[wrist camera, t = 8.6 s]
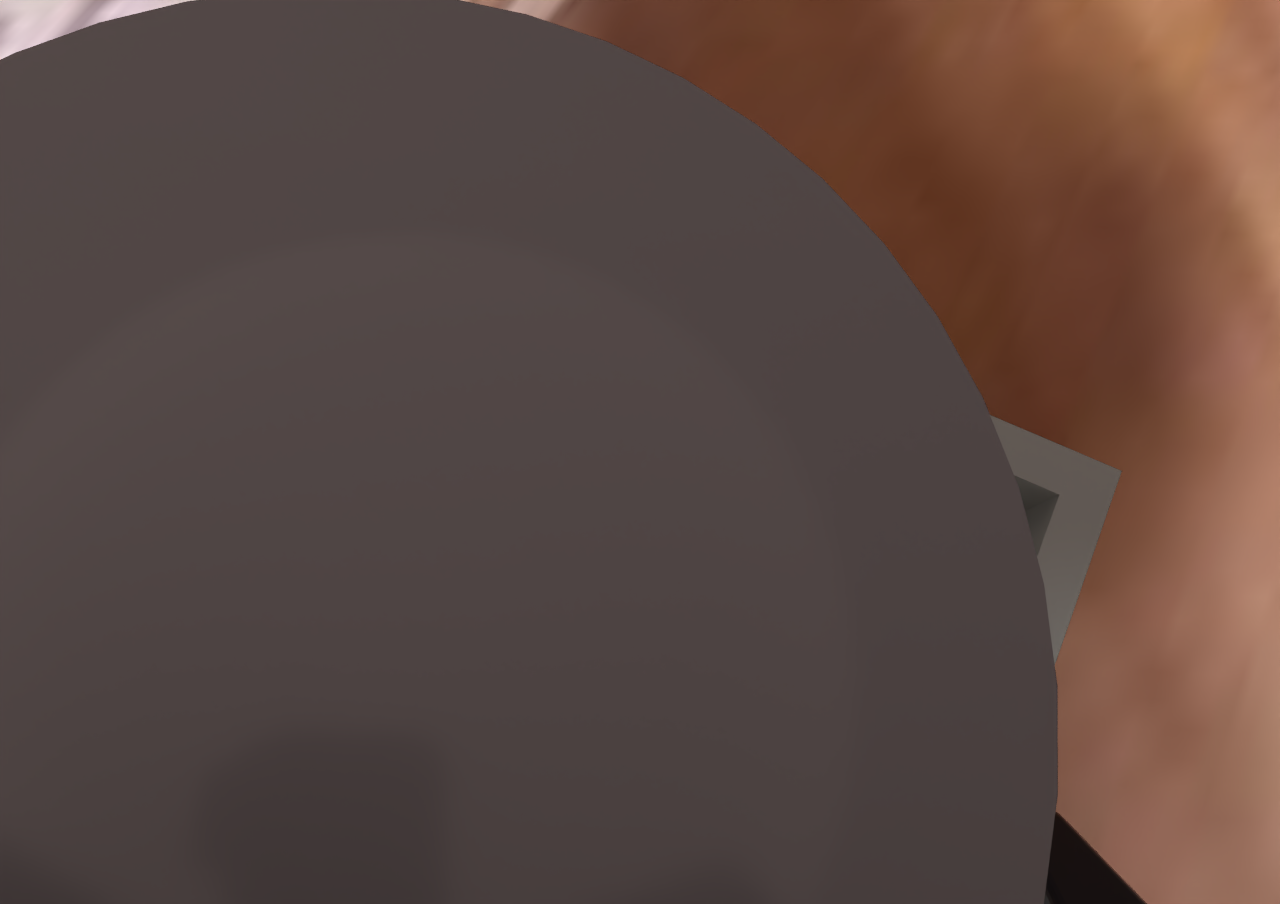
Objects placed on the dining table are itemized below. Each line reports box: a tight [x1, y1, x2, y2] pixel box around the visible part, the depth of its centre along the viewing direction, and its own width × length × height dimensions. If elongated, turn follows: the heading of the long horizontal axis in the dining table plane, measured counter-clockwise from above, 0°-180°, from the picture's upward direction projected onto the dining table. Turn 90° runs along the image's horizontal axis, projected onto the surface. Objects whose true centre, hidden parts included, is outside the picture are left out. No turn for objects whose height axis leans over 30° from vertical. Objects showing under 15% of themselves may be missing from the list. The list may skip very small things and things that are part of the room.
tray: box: [990, 415, 1122, 665], centre depth 16 cm, size 14×14×2 cm
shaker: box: [0, 0, 1058, 904], centre depth 10 cm, size 6×6×13 cm
